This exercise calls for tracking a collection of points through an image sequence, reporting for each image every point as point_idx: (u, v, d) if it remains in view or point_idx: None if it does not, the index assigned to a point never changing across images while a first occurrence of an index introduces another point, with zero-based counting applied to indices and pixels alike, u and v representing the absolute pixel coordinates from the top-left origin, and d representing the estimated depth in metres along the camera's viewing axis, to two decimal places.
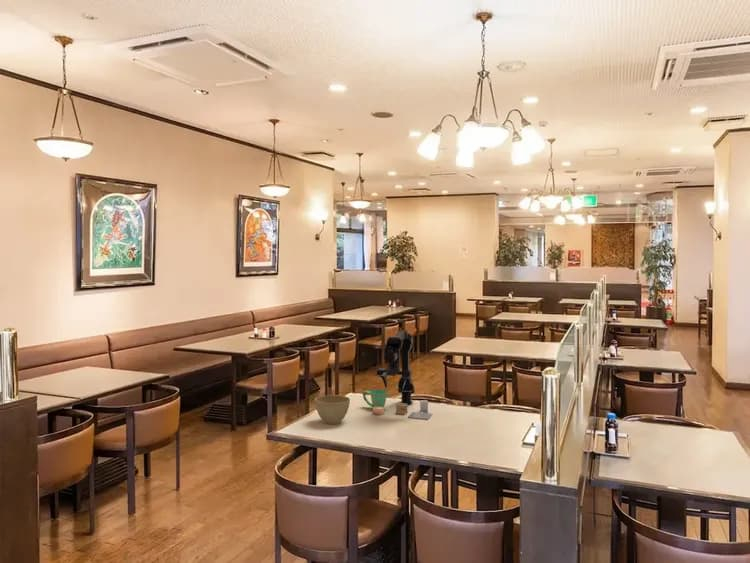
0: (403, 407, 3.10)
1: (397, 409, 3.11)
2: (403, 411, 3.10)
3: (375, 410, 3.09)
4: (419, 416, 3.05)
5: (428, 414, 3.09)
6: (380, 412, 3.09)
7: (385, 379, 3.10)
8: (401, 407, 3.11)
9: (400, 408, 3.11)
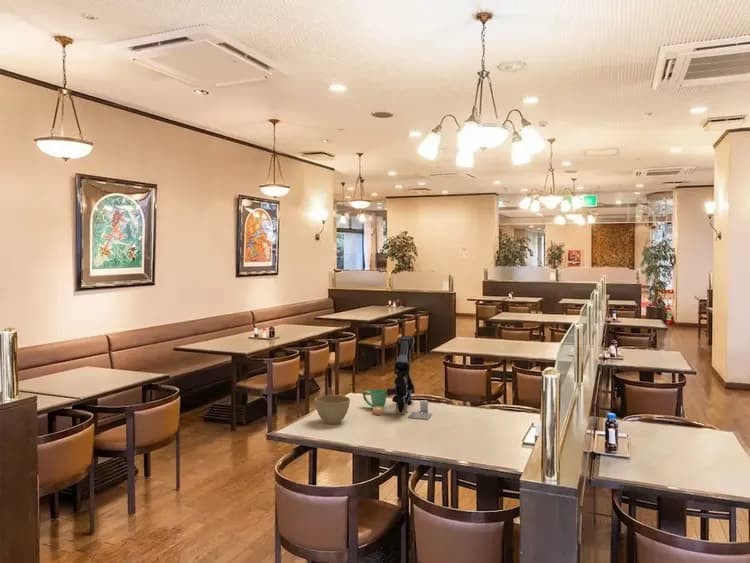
0: (403, 407, 3.10)
1: (397, 409, 3.11)
2: (403, 411, 3.10)
3: (375, 410, 3.09)
4: (419, 416, 3.05)
5: (428, 414, 3.09)
6: (380, 412, 3.09)
7: None
8: None
9: None
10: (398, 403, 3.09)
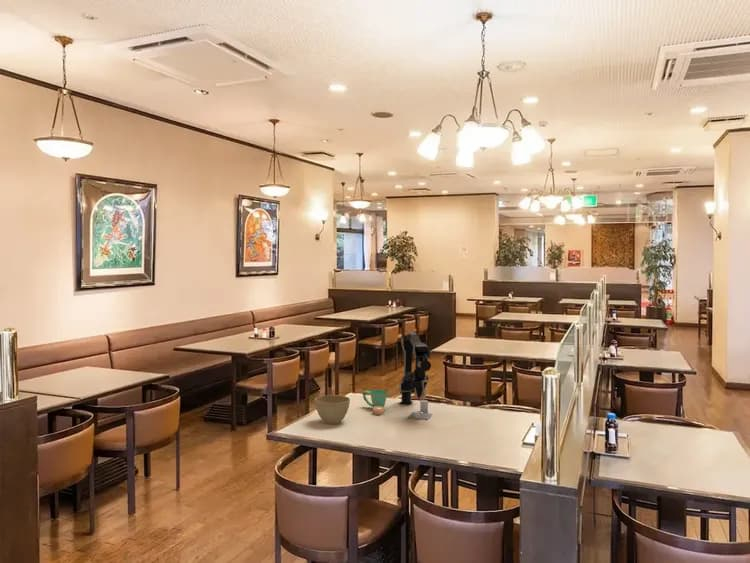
0: (422, 392, 3.04)
1: (415, 394, 3.05)
2: (422, 396, 3.04)
3: (375, 410, 3.09)
4: (419, 416, 3.05)
5: (428, 414, 3.09)
6: (380, 412, 3.09)
7: None
8: None
9: None
10: (417, 388, 3.03)
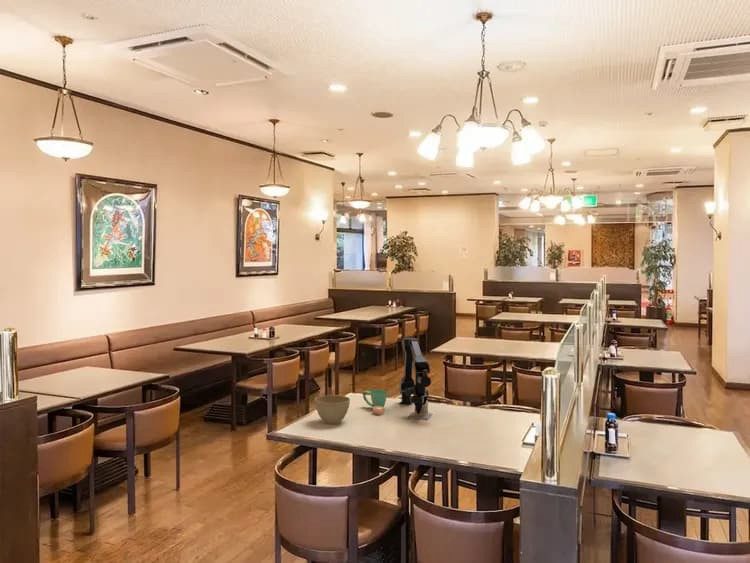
0: (422, 409, 3.04)
1: (415, 411, 3.05)
2: (422, 413, 3.04)
3: (376, 410, 3.09)
4: (419, 416, 3.05)
5: (428, 414, 3.09)
6: (381, 412, 3.10)
7: None
8: None
9: None
10: (416, 404, 3.01)
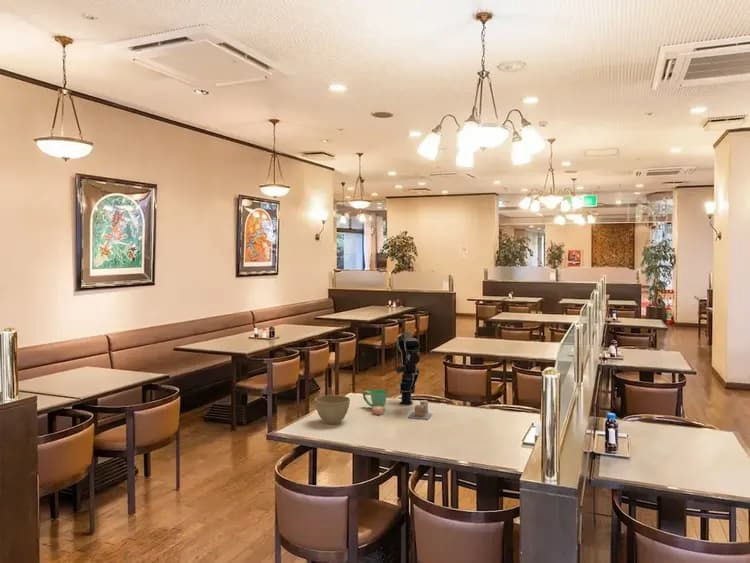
0: (422, 409, 3.04)
1: (415, 411, 3.05)
2: (422, 413, 3.04)
3: (378, 410, 3.09)
4: (419, 416, 3.05)
5: (428, 414, 3.09)
6: (382, 411, 3.11)
7: None
8: (420, 409, 3.05)
9: (418, 410, 3.05)
10: (407, 381, 3.15)
